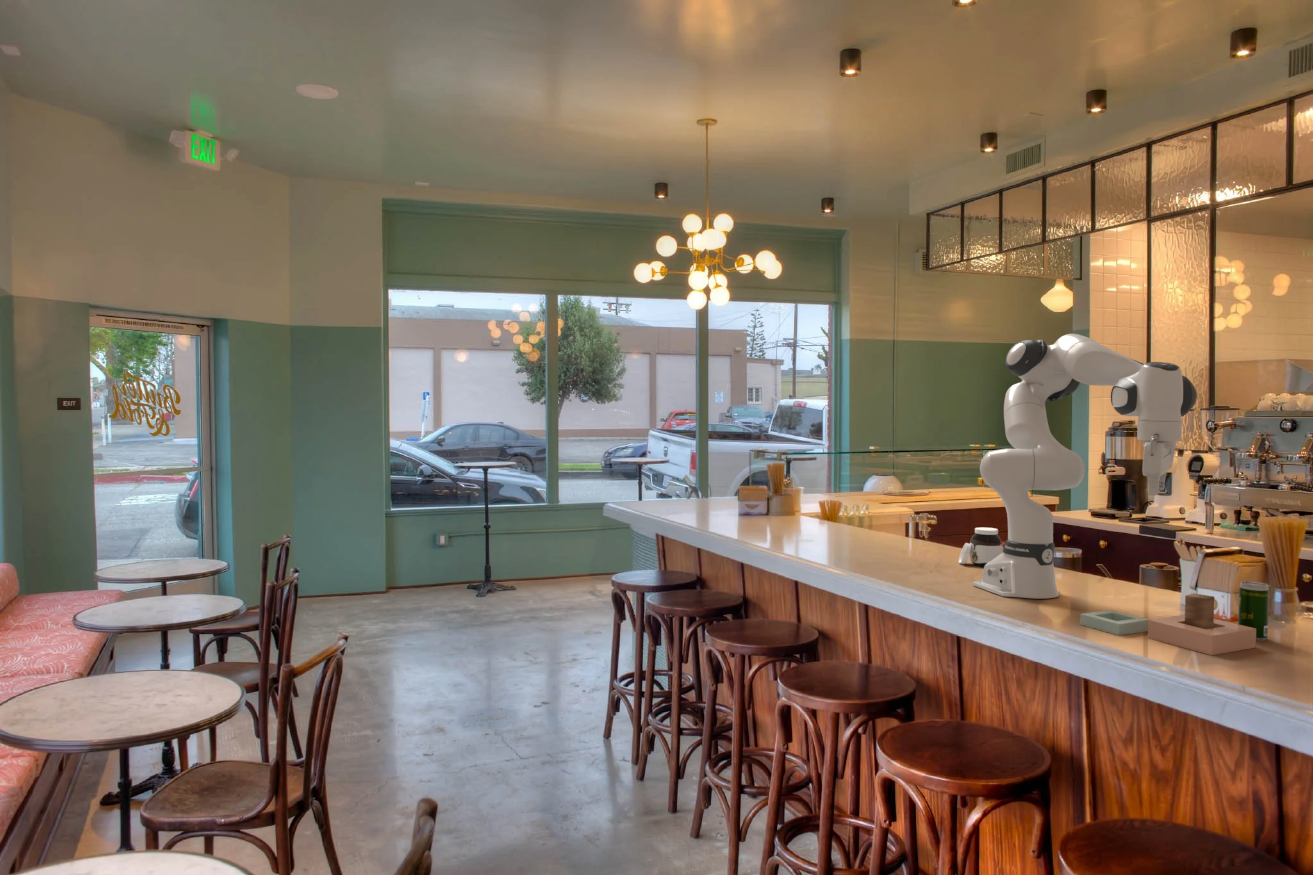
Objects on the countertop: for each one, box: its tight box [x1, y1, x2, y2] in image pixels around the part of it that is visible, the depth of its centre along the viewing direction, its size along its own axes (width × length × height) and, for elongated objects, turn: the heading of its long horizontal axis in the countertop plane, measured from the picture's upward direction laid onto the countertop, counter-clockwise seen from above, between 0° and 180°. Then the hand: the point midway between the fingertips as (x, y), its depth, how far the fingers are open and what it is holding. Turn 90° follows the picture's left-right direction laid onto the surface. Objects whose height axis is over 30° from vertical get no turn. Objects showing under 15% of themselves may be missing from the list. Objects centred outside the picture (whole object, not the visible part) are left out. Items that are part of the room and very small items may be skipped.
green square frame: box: [1079, 609, 1151, 636], centre depth 196 cm, size 10×10×2 cm
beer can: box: [1237, 580, 1270, 642], centre depth 187 cm, size 5×5×12 cm
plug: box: [1184, 592, 1215, 629], centre depth 184 cm, size 4×4×10 cm
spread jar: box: [958, 526, 1004, 568], centre depth 272 cm, size 12×11×12 cm
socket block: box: [1147, 614, 1257, 656], centre depth 184 cm, size 14×14×4 cm
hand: (1156, 492), depth 200 cm, fingers open, 8 cm apart
